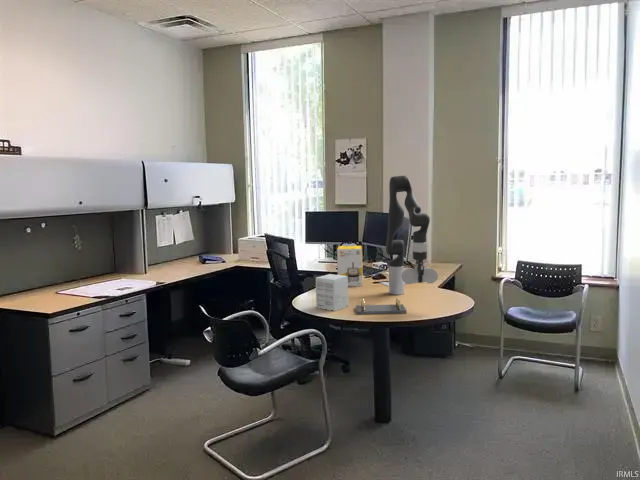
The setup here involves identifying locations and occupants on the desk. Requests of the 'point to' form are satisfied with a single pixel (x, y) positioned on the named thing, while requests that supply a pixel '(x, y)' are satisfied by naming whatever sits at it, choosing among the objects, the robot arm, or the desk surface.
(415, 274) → the grey piece
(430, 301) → the desk surface
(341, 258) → the packaging box
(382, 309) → the standoff plate
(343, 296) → the supplement box
